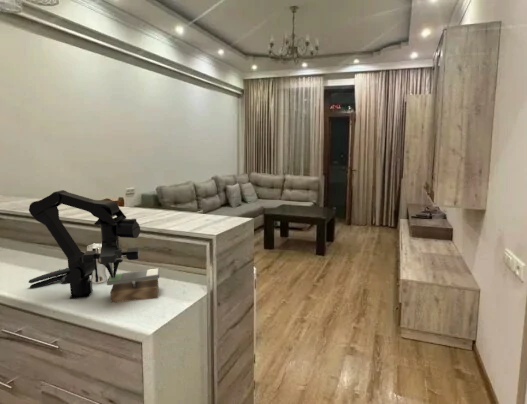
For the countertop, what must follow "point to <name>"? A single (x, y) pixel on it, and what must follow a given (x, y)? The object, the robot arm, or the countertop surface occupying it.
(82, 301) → the countertop surface
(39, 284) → the can opener
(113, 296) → the switch base
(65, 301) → the countertop surface
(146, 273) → the grey flat panel
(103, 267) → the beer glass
